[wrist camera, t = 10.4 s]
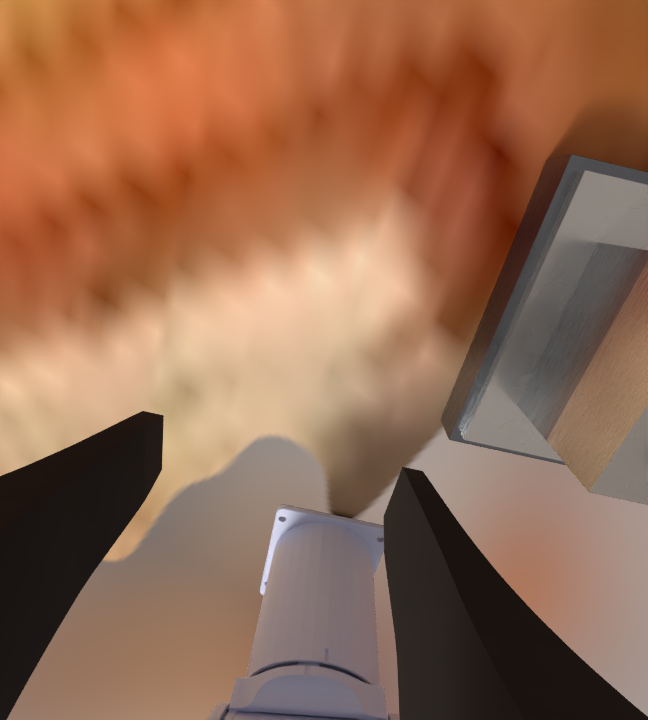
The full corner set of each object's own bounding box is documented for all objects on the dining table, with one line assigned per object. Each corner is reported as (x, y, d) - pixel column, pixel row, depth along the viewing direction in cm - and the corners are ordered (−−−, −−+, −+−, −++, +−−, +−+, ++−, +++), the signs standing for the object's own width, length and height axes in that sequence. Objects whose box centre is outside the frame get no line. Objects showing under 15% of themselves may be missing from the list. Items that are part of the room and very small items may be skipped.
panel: (584, 451, 22) (611, 480, 20) (440, 419, 22) (451, 445, 19) (738, 205, 16) (802, 205, 14) (546, 160, 16) (579, 152, 14)
